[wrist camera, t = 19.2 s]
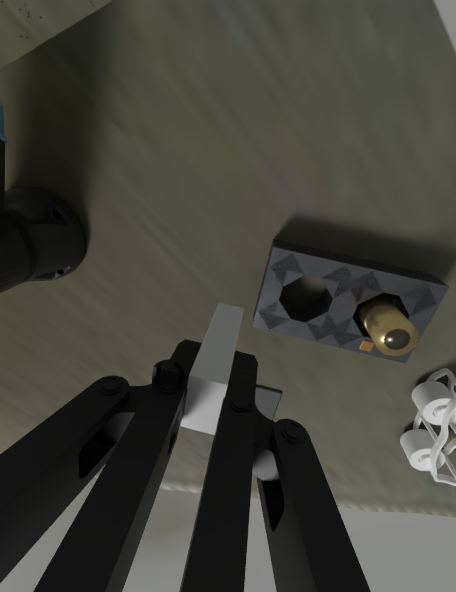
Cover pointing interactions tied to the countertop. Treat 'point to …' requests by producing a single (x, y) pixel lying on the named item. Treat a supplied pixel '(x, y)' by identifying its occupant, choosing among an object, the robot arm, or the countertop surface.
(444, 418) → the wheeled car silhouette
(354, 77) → the countertop surface
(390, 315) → the bushing
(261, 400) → the mat
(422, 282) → the block
